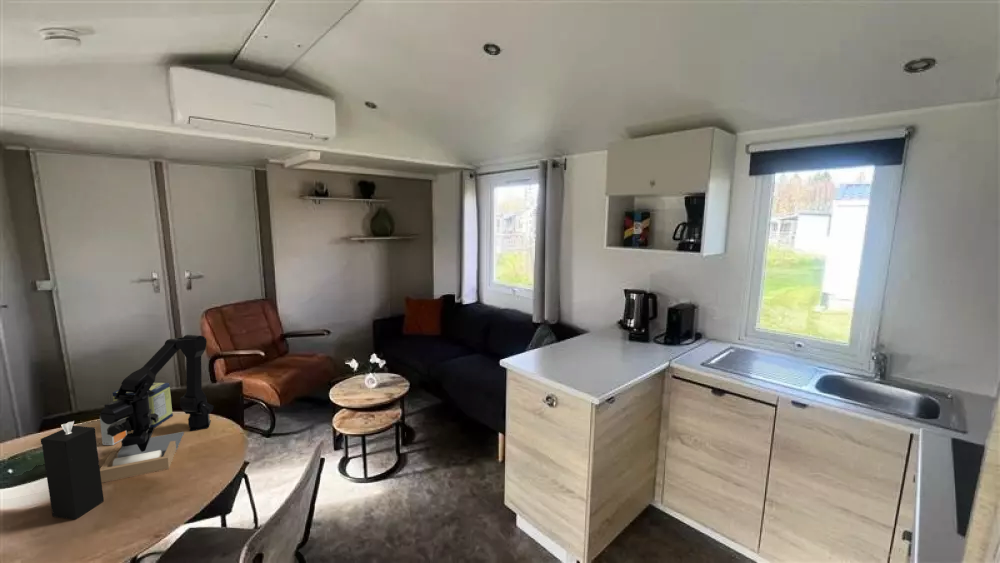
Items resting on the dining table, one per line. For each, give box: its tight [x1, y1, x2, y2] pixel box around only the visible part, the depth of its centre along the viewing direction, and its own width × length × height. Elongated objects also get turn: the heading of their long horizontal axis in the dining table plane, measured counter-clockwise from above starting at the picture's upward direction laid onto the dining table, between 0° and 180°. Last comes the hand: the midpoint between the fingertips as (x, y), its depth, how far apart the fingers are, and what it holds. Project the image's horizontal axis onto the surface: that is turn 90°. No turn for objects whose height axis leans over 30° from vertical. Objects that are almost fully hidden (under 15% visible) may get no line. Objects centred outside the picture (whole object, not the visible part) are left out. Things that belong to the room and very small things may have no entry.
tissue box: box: [40, 420, 105, 520], centre depth 120 cm, size 8×8×28 cm
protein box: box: [112, 382, 174, 429], centre depth 171 cm, size 10×16×16 cm
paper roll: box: [112, 450, 162, 466], centre depth 141 cm, size 12×5×5 cm, turn 119°
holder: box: [100, 431, 185, 484], centre depth 149 cm, size 18×26×4 cm
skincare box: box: [99, 417, 128, 446], centre depth 157 cm, size 6×4×12 cm
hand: (143, 450), depth 146 cm, fingers closed
